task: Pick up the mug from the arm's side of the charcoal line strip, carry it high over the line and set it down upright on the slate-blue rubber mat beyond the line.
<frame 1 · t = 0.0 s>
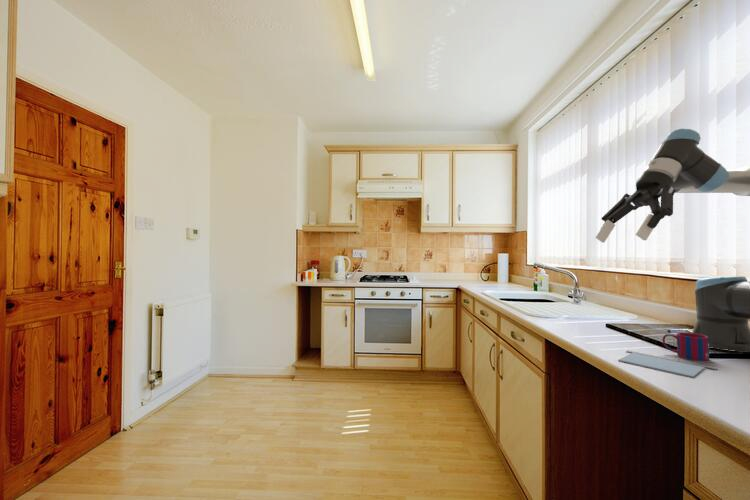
hand: (618, 238, 90), 36 cm above the worktop, tool tilted 35°, fingers open, 13 cm apart
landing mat: (659, 364, 90), on the worktop
line strip: (668, 359, 94), on the worktop
mug: (685, 357, 97), on the worktop
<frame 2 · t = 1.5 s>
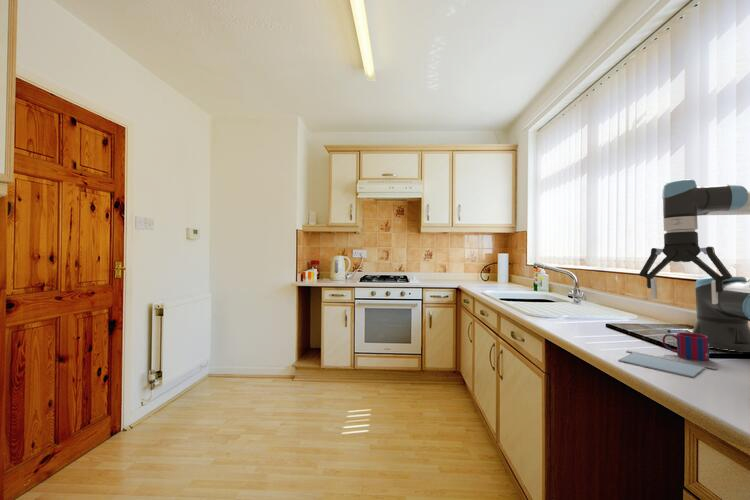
hand: (682, 301, 97), 17 cm above the worktop, tool pointing down, fingers open, 13 cm apart
nothing on the worktop moved.
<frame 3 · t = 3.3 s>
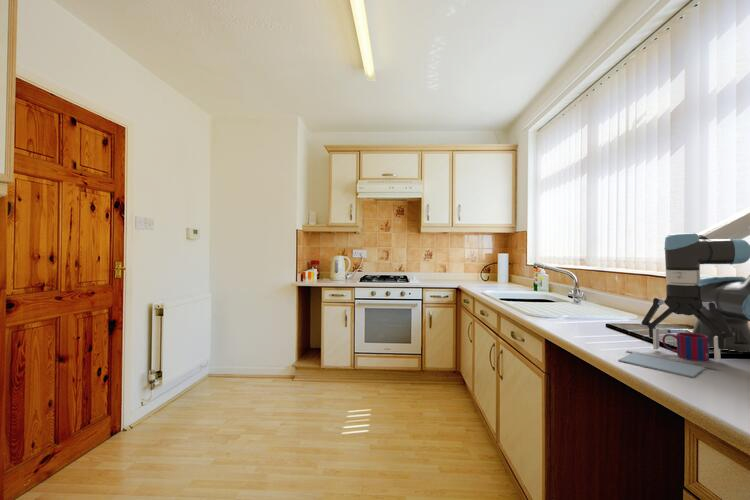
hand: (685, 353, 97), 1 cm above the worktop, tool pointing down, fingers open, 13 cm apart
nothing on the worktop moved.
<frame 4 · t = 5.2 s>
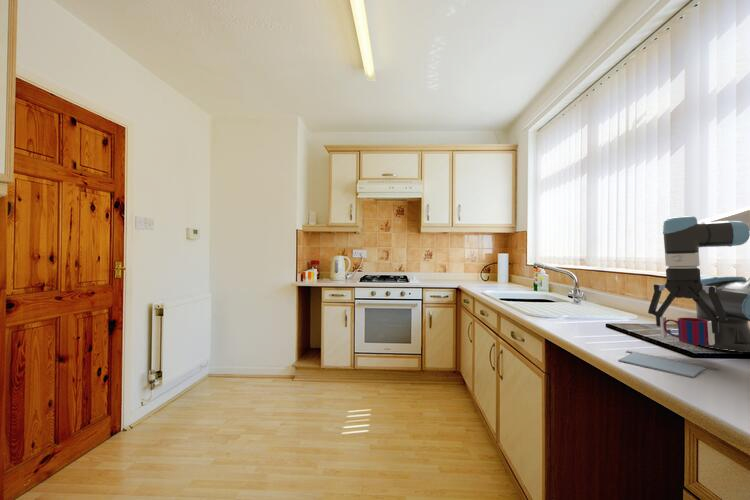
hand: (686, 340, 97), 5 cm above the worktop, tool pointing down, fingers closed on mug, 10 cm apart
mug: (686, 342, 97), point 4 cm above the worktop, touching gripper
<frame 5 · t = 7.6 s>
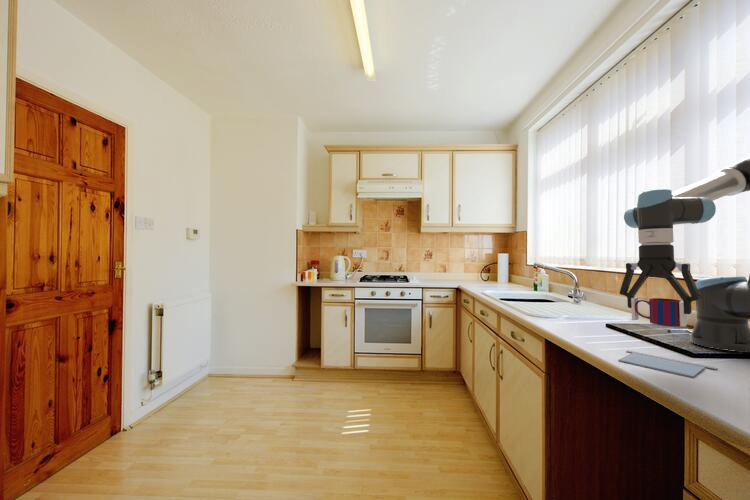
hand: (658, 322, 91), 12 cm above the worktop, tool pointing down, fingers closed on mug, 10 cm apart
mug: (658, 323, 91), point 12 cm above the worktop, touching gripper
when the fingers open (1 cm above the worktop, at t = 10.3 s): mug stays where it is, resting on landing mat.
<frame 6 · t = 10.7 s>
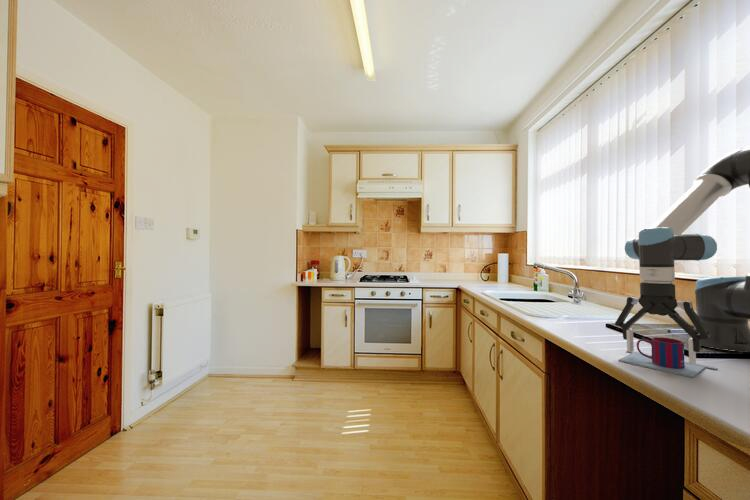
hand: (659, 356, 90), 2 cm above the worktop, tool pointing down, fingers open, 13 cm apart
mug: (660, 363, 90), resting on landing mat
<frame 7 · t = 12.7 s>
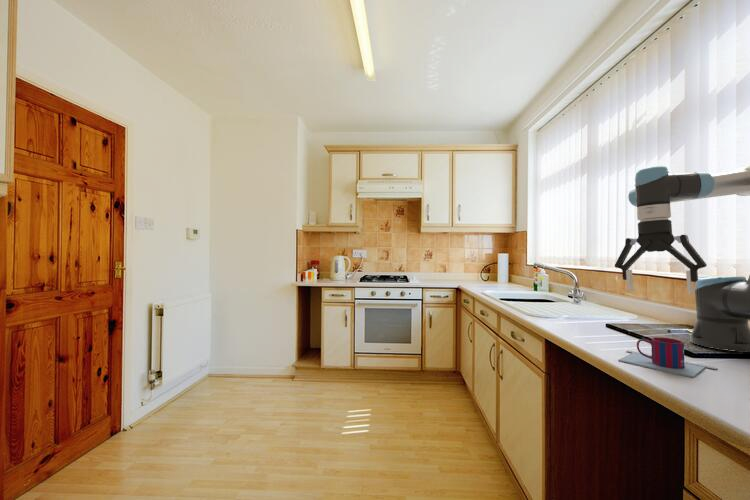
hand: (658, 292, 94), 20 cm above the worktop, tool pointing down, fingers open, 13 cm apart
nothing on the worktop moved.
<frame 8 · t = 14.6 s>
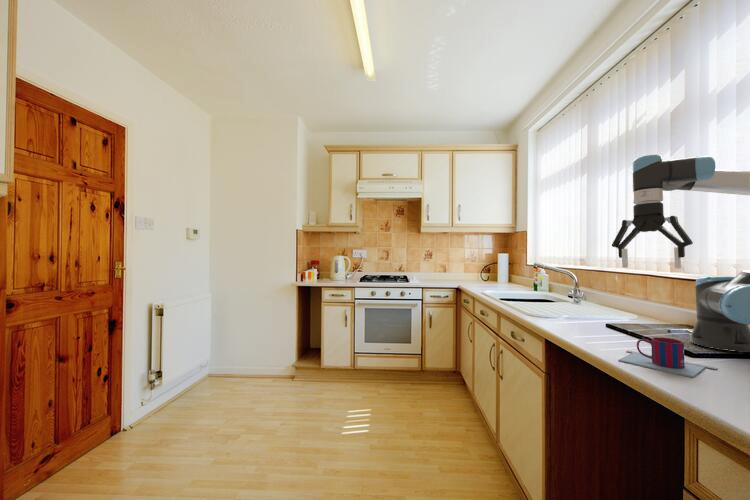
hand: (650, 268, 105), 27 cm above the worktop, tool pointing down, fingers open, 13 cm apart
nothing on the worktop moved.
at the end: mug inside the target area (1.1 cm from its centre), resting on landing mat; mug tilted 0°; the gripper is holding nothing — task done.
